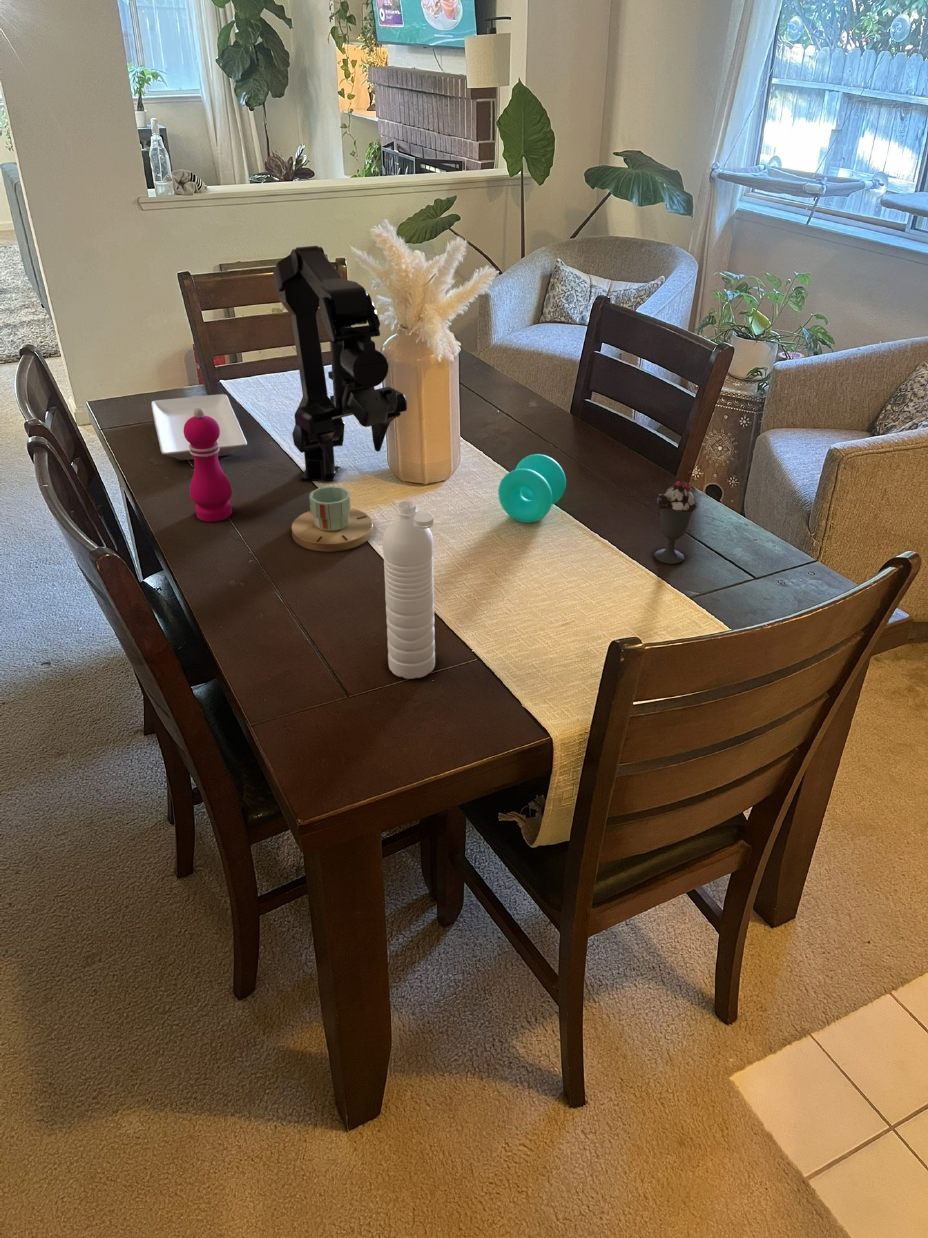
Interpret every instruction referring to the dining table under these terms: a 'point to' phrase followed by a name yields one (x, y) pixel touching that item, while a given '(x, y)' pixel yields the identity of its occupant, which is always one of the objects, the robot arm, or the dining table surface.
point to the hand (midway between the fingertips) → (354, 457)
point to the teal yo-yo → (532, 488)
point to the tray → (179, 410)
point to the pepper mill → (207, 469)
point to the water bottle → (410, 592)
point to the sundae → (674, 519)
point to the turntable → (332, 533)
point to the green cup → (330, 507)
